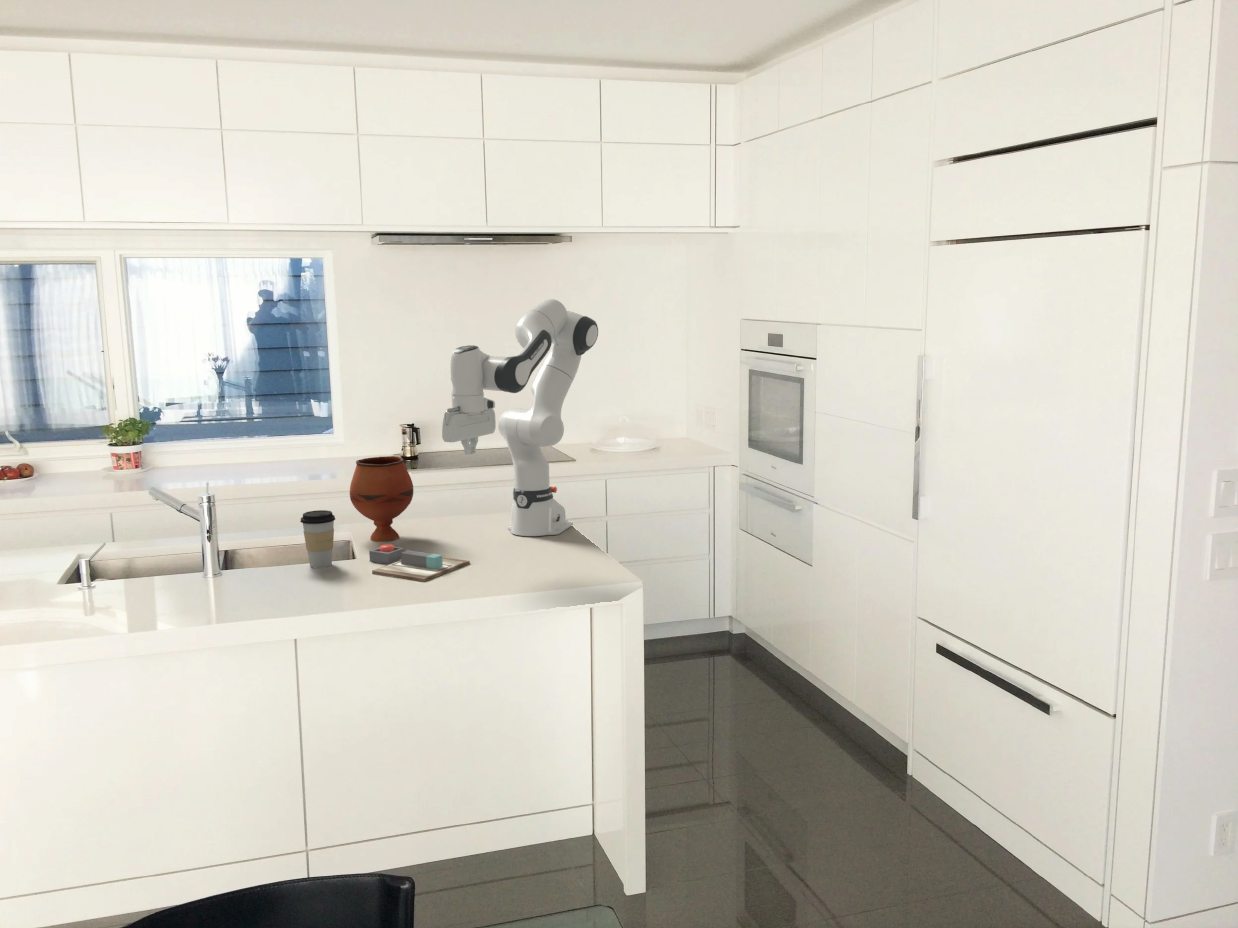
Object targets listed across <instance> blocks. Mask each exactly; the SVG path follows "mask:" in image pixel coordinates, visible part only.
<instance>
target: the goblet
mask: <svg viewBox="0 0 1238 928" xmlns="http://www.w3.org/2000/svg"><path fill="white" fill-rule="evenodd" d="M355 464H356V465H355V469H354V472H353V475H352V478H351V481H350V486H349V498H350V501H351V504H352V506H353V507H354V508H355V509H356V511H357V512H359V513H360V514H361V515H362V516H363V517H365V518H367V519H369V520H371V521H373V525H374V527H376V528H375V530H374V531H373V532H372V533H371V535H370V538H369V539H370V541H372V542H378V543H380V542H381V543H382V542H383V543H384V542H389V541H390V542H391V541H395V540H397V539H399V538H400V535H399V533H398V532H397V531H396V529H394V528H393V527H392V524H393V523H394V521H393V519H395V518H397V517H399V516H400V515H401V514H402V513H403V512H405V510H406V509H407V508H408V507H409V506H410V504H411V502H412V500H413V497H414V484H413V481H412V477H411V476H410V474H409V471H408V469H407V467H406V465H405V461H404V458H402V457H401V456H396V455H395V456H394V455H393V456H392V455H390V456H374V457H367V458H362V459H357V460H356V461H355Z"/></svg>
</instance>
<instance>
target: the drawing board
mask: <svg viewBox="0 0 1238 928" xmlns="http://www.w3.org/2000/svg"><path fill="white" fill-rule="evenodd" d="M442 563H443V567H440V568H437V569H430V568H424V567H417V566H410V565H404V564H401V560H399V561H396V562H393V563H390V564H386V565H384V566H382V567H379V568H375V569H373V570H371V572H372V574H373V575H381V576H385V575H386V577H391V576H393V578H398V579H406V580H411V581H416V580H417V582H422V581H423V583H425V582H428V581H430V580H432V579H435V578H437V577H440V576H443V575H444V574H447V572H448V573H450V572H452V570H453V571H455V570H458V569H460V568H462V567H465V566H467V565H470V564H471V560H466V559H459V558H452V557H446V556H442ZM457 568H458V569H457ZM442 574H443V575H442Z"/></svg>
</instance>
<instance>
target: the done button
mask: <svg viewBox="0 0 1238 928" xmlns="http://www.w3.org/2000/svg"><path fill="white" fill-rule="evenodd" d="M394 547H395V545H394V544H388V543H387V544H381V545H380V546H379V548H380V552H387V553H388V552H391V551H394Z"/></svg>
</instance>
